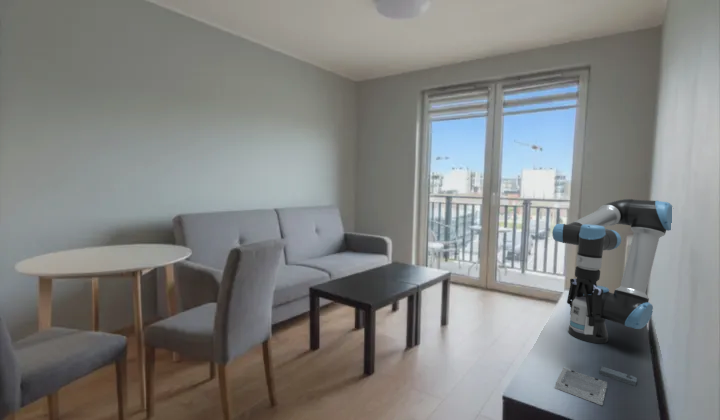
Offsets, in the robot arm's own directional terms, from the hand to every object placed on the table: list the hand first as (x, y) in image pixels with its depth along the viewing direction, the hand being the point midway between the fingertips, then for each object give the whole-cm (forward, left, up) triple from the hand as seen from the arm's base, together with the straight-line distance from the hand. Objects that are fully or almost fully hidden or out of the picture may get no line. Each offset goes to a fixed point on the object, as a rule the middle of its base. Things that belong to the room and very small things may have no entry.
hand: (580, 329), depth 129 cm
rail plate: (+13, +3, -15) cm, 20 cm away
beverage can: (0, 0, -1) cm, 1 cm away
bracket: (-5, +12, -16) cm, 21 cm away
